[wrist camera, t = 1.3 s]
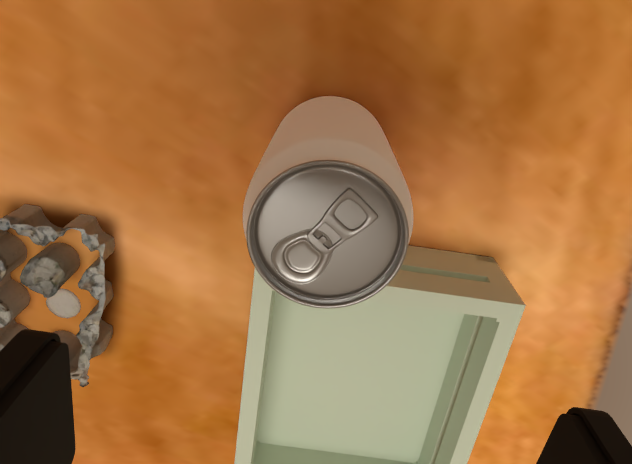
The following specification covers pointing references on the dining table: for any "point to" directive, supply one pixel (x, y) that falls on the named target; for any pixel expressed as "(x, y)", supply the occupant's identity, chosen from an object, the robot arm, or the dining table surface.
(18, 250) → the egg carton
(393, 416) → the tray
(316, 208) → the can
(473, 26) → the dining table surface
